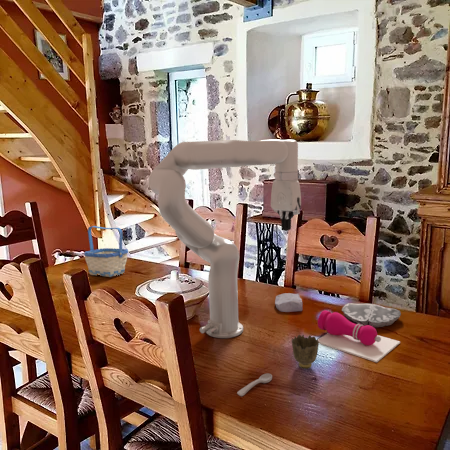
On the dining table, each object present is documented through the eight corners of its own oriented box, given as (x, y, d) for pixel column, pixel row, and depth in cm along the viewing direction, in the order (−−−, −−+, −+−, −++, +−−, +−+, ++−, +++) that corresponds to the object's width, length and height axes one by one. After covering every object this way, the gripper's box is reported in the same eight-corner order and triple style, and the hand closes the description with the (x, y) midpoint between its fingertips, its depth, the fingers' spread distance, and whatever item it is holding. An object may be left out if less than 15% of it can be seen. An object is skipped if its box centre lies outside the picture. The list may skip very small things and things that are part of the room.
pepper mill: (317, 334, 147) (375, 356, 133) (315, 315, 144) (374, 335, 131) (329, 323, 152) (386, 343, 138) (328, 304, 149) (386, 323, 135)
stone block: (278, 317, 167) (305, 311, 166) (275, 305, 166) (302, 298, 166) (275, 306, 178) (299, 301, 178) (272, 295, 178) (297, 289, 177)
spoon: (275, 380, 121) (274, 373, 120) (243, 401, 113) (242, 394, 113) (266, 376, 123) (266, 369, 122) (235, 396, 115) (234, 389, 115)
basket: (134, 272, 222) (131, 225, 217) (110, 282, 208) (106, 232, 203) (104, 267, 232) (100, 222, 228) (79, 276, 218) (74, 228, 214)
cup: (320, 362, 129) (320, 336, 127) (316, 375, 122) (317, 347, 120) (294, 358, 131) (294, 333, 130) (289, 371, 124) (289, 344, 123)
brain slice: (337, 326, 153) (337, 318, 153) (345, 308, 169) (345, 301, 168) (399, 334, 146) (399, 326, 145) (401, 315, 161) (402, 307, 160)
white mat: (376, 362, 128) (376, 360, 128) (315, 342, 141) (315, 340, 141) (400, 343, 139) (400, 341, 139) (341, 326, 153) (341, 324, 153)
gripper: (262, 176, 156) (262, 228, 159) (297, 178, 145) (297, 234, 149) (276, 175, 161) (276, 225, 164) (311, 177, 150) (310, 231, 154)
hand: (286, 229), depth 157 cm, fingers closed
